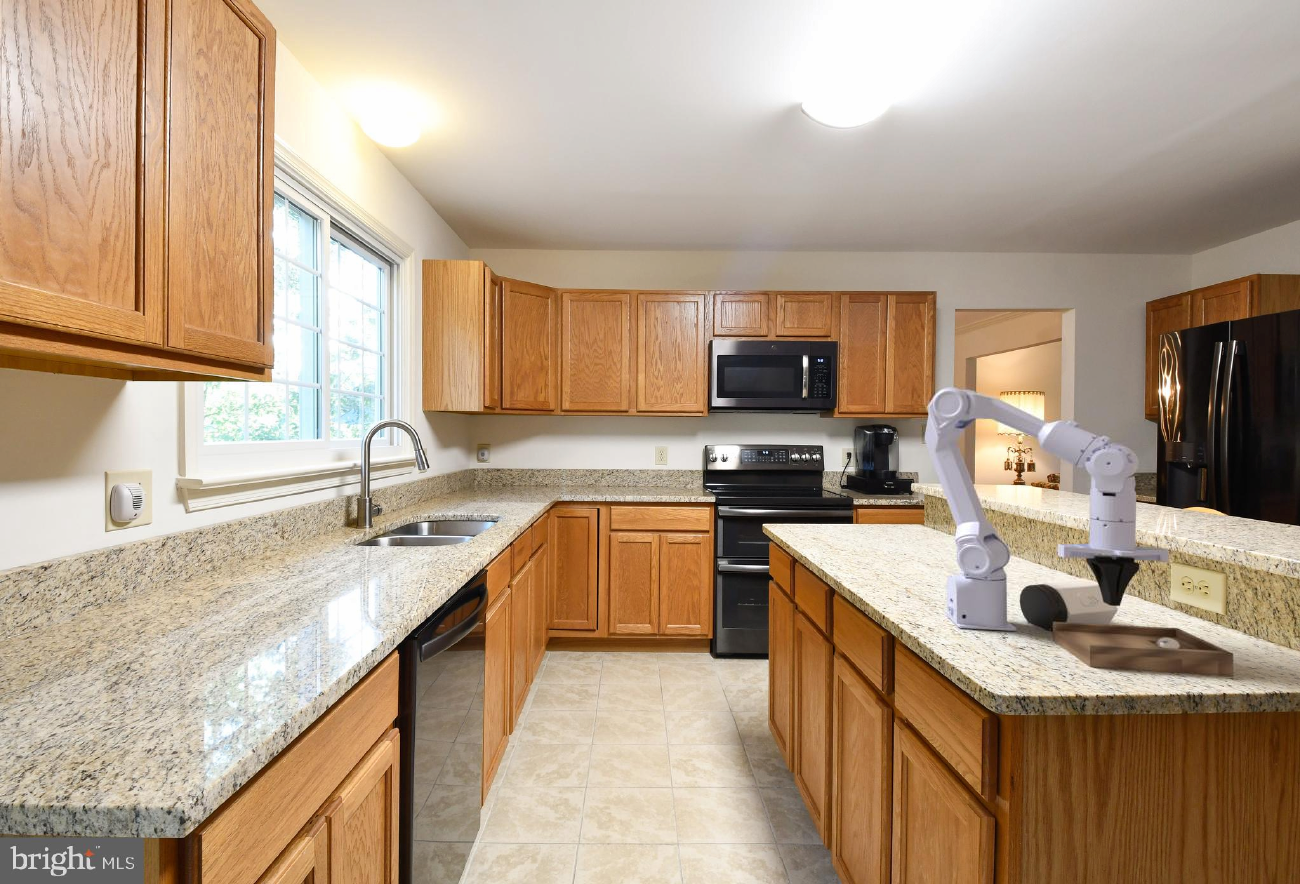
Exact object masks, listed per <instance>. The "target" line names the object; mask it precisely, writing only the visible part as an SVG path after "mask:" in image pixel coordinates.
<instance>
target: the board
mask: <svg viewBox="0 0 1300 884" xmlns="http://www.w3.org/2000/svg"><path fill="white" fill-rule="evenodd" d="M1160 638H1171V639H1174V640H1176V641H1177V642H1178V643H1179V644H1180V645H1181V646H1182V648H1183V649H1175V648H1161V647H1159V646H1157V645H1155V643H1156V641H1157V640H1158V639H1160ZM1052 641H1053V642H1054V643H1056V644H1057V645H1059V646H1060V647H1061V648H1062V649H1064V650H1066V651H1067V652H1068V653H1070V654H1071V655H1073V656H1074V657H1076V658H1077V659H1078V660H1079V661H1081V662H1082V663H1084V664H1086V665H1087V666H1088V667H1091V668H1101V669H1102V668H1103V669H1105V668H1106V669H1118V670H1119V669H1120V670H1132V671H1133V670H1134V671H1135V670H1136V671H1152V672H1163V673H1164V672H1166V673H1167V672H1168V673H1183V674H1195V673H1196V674H1197V675H1199V674H1200V675H1211V676H1212V675H1214V676H1230V677H1233V676H1234V653H1232V652H1230V651H1229V650H1226V649H1224V648H1222V647H1220V646H1217V645H1215V644H1212V643H1211V642H1209V641H1206V640H1204V639H1203V638H1200V637H1197V636H1195V635H1194V634H1192V633H1189V632H1187V631H1184V630H1182V629H1180V628H1178V627H1165V626H1164V627H1162V626H1160V627H1159V626H1143V625H1142V626H1141V625H1140V626H1139V625H1125V624H1124V625H1123V624H1122V625H1121V624H1109V625H1106V624H1087V623H1067V622H1053V630H1052Z"/></svg>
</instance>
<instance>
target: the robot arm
mask: <svg viewBox="0 0 1300 884" xmlns="http://www.w3.org/2000/svg"><path fill="white" fill-rule="evenodd" d="M926 409H927V412H928V416H927V420H926V428H925V434H924V441H925V446H926V447H927V452H928V453H929V456H930V459H931V461H932V464H933V467H934V470H935V471H936V474H937V475H936V476H937V478H938V479H939V483H940V485H941V489H942V491H943V493H944V496H945V499H946V501H947V505H948V506H949V510H950V513H951V515H952V519H953V521H954V523H955V526H956V530H955V536H954V541H955V544H956V548H957V550H956V563H957V565H958V567H959V568H960V569H961V571H960V572H961V573H958V574H949V575H948V576H947V579H946V612H945V616H947V618H948V619H949V620H950V621H951V622H952V623H954V624H955V625H956V626H957V627H958V628H960V629H976V630H991V631H992V630H993V631H994V630H996V631H997V630H998V631H1011V632H1013V631H1014V632H1015V631H1017V627H1015V626H1014V625H1013V624H1012V623H1010V622H1009V621H1008V594H1007V593H1008V592H1007V591H1008V588H1007V586H1008V585H1007V581H1008V578H1007V576H1008V574H1007V573H1006V571H1005V570H1004V568H1005V567H1006V566H1007V565H1008V564H1009V562H1010V559H1011V551H1010V549H1009V547H1008V545H1007V544H1006V542H1004V540H1002V539H1001V538H1000V536H999V535H998V532H997V529H996V528H995V527H994V526H993V525H992V524H991V523H990V522H989V521H988V519H987V516H986V514H985V512H984V509H983V506H982V504H981V501H980V498H979V496H978V493H977V491H976V488H975V485H974V483H973V480H972V478H971V474H970V473H969V469H968V467H967V465H966V461H965V459H964V457H963V454H962V452H961V449H960V446H959V444H958V441H959V439H960V437H961V436H962V434H963V433H964V432H965V430H966V428H968V427H969V426H970V425H971V424H972V423H974V422H975V421H976V420H978V419H979V420H981V419H982V420H993V421H995V422H998V423H1000V424H1002V425H1005V426H1007V427H1010V428H1011V429H1014V430H1016V431H1019V432H1020V433H1023V434H1026V435H1027V436H1029V437H1033V438H1034V439H1037V442H1038V444H1039V448H1040V449H1041V450H1042V451H1044V452H1045V453H1048V454H1050V455H1052V456H1055V457H1057V458H1058V459H1060V460H1063V461H1065V462H1067V463H1069V464H1071V465H1074V466H1076V467H1077V468H1080V469H1082V468H1085V469H1086V471H1087V473H1088V474H1089V475H1090V490H1089V533H1088V535H1089V536H1088V537H1089V539H1088V541H1089V542H1088V543H1065V544H1064V543H1063V544H1062V543H1058V544H1057V556H1058V557H1061V558H1063V559H1072V558H1073V559H1075V558H1076V559H1085V562H1086V564H1088V567H1089V568H1090V570H1091V571H1092V573H1093V576H1094V578H1095V579H1096V582H1098V585H1099V588H1100V591H1101V594H1102V598H1103V602H1104V603H1106V604H1108V605H1110V606H1117V607H1120V606H1121V603H1122V601H1123V598H1124V594H1125V592H1126V590H1127V587H1128V585H1130V582H1131V581H1132V579H1133V578H1134V577H1135V575H1136V574H1137V573H1138V572H1139V571H1140V563H1139V562H1135V561H1151V562H1152V561H1154V562H1155V561H1156V562H1160V563H1169V562H1170V549H1166V548H1163V547H1153V546H1141V545H1140V546H1139V545H1137V544H1136V543H1137V541H1136V537H1137V535H1136V533H1137V530H1136V528H1137V525H1136V524H1137V518H1136V517H1137V492H1136V491H1135V490H1136V488H1135V487H1136V484H1137V483H1136V479H1135V476H1134V474H1135V473H1136V471H1137V470H1138V467H1139V464H1140V463H1139V457H1138V456H1137V454H1136V453H1135V452H1134V451H1133V450H1132V449H1131V448H1129V447H1127V445H1126V444H1123V443H1110V441H1111V437H1109V436H1106V435H1102V436H1099V435H1096V434H1094V433H1092V432H1090V431H1088V430H1086V429H1083V428H1080V427H1079V426H1080V423H1079V422H1076V421H1075V420H1069V421H1068V422H1067V421H1065V420H1062V419H1061V420H1057V421H1052V422H1047V421H1046V420H1045V421H1044V420H1043V419H1040V418H1039V417H1036V416H1035V415H1032V414H1030V413H1028V412H1026V411H1025V410H1023V409H1020V408H1018V407H1016V406H1014V405H1012V404H1010V403H1007V402H1006V401H1004V400H1001V399H999V398H996V397H994V396H990V395H987V394H984V393H983V394H982V393H978V392H977V391H975V390H971V389H959V388H957V387H952V386H951V387H945V388H943V389H940V390H938V391H937V392H936V393H935V394H934V395H933V397H932V399H931V400H930V401H929V403H928V405H927V406H926ZM1109 443H1110V444H1109Z"/></svg>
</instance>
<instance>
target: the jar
mask: <svg viewBox="0 0 1300 884" xmlns="http://www.w3.org/2000/svg"><path fill="white" fill-rule="evenodd" d="M1019 606H1020V607H1019V608H1020V611H1021V612H1022V615H1023V618H1024V619H1025V621H1027V623H1028V624H1030V625H1033V626H1035V627H1036V628H1037V627H1038V628H1039V629H1042V630H1045V631H1053V622H1067V623H1087V624H1106V625H1111V622H1112V621H1113V619H1114V617H1115V615H1116V614H1117V613H1118V611H1119V609H1118V606H1110V605H1108V604H1106V603H1104V602H1103V598H1102V594H1101V591H1100V588H1099V585H1098V582H1097V581H1094V580H1091V579H1087V578H1085V577H1081V578H1074V579H1073V578H1072V579H1061V580H1051V581H1049V580H1048V581H1040V582H1038V583H1037V584H1029V585H1027V586H1025V587H1024V588H1023V589H1022V590H1021V592H1020V595H1019Z"/></svg>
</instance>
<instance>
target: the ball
mask: <svg viewBox="0 0 1300 884" xmlns="http://www.w3.org/2000/svg"><path fill="white" fill-rule="evenodd" d="M1155 645H1157V646H1159V647H1161V648H1175V649H1183V648H1182V646H1181V645H1180V644H1179V643H1178V642H1177V641H1176V640H1174V639H1171V638H1160V639H1158V640H1157V641H1156V643H1155Z"/></svg>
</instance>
